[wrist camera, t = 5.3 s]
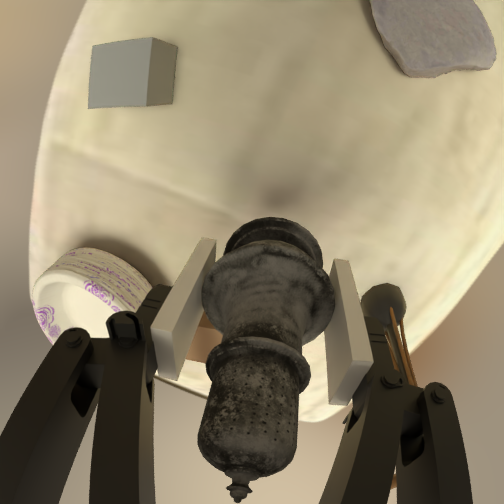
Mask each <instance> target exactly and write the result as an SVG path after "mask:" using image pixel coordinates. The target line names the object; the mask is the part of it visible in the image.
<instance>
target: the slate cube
mask: <svg viewBox="0 0 504 504" xmlns="http://www.w3.org/2000/svg"><path fill="white" fill-rule="evenodd" d="M177 49H178V47H176V46H174V45H171V44H169V43H166V42H164V41H161V40H158V39H156V38H153V37H151V38H141V39H132V40H125V41H118V42H111V43H105V44H99V45H94V46H93V47H92V56H91V66H90V79H89V96H88V109H94V108H110V107H140V106H155V105H166V104H172V100H173V88H174V77H175V67H176V57H177Z"/></svg>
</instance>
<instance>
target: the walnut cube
mask: <svg viewBox="0 0 504 504" xmlns="http://www.w3.org/2000/svg"><path fill="white" fill-rule="evenodd" d="M222 337H223V335H222V334H221V333H220V332H218V331H217V330H216V329H215V328H214V326H213V325H212V324H211V322H210V321H209V320H208V318H207V316H206V314H205V311H204V312H203V314H202V317H201V319H200V322H199V325H198V327H197V330H196V332H195V335H194V338H193V340H192V343H191V345H190V348H189V351H188V353H187V356H186V359H187V360H192V361H197V362H202V363H206V361H207V357H208V354H209V353H210V352H211V351H212V349H213V348H214V347H215V346H217V345H219V344H220V343H221V341H222Z"/></svg>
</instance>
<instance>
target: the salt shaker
mask: <svg viewBox="0 0 504 504" xmlns="http://www.w3.org/2000/svg"><path fill="white" fill-rule="evenodd" d="M322 268H323V259H322V251H321V249H320V247H319V244H318V242H317V240H316V239H315V238H314V237H313V235H312V234H311V233H310V232H309V231H308V230H307V229H305V228H304V227H302V226H301V225H299V224H298V223H296V222H293V221H290V220H287V219H284V218H275V217H267V218H260V219H255V220H253V221H251V222H248V223H246V224H244V225H243V226H241V227H240V228H239V229H238V230H236V231H235V232H234V233H233V235H232V236H231V238H230V239H229V241H228V242H227V244H226V248H225V251H224V254H223V257H222V258H220V259H219V260H218V261H216V262H215V263H214V264H213V265H212V267H211V268H210V270H209V271H208V273H207V274H206V276H205V278H204V282H203V286H202V291H201V294H202V306H203V309H204V311H205V314H206V316H207V318H208V320H209V321H210V322H211V324H212V325H213V326H214V328H215V329H216V330H217V331H218V332H220V333H221V334H222V335H223V337H222V341H221V343H220V344H219V345H217V346H215V347H214V348H213V349H212V351H211V352H210V353H209V354H208V357H207V361H206V372H207V374H208V376H209V378H210V380H211V381H212V385H211V388H210V392H209V396H208V399H207V403H206V406H205V410H204V414H203V417H202V421H201V425H200V428H199V432H198V447H199V449H200V452H201V453H202V455H203V457H204V458H205V459H206V460H207V461H208V462H209V463H210V464H211V465H213V466H214V467H215V468H217V469H218V470H220V471H223V472H224V473H225V475H226V476H228V477H230V478H232V484H231V485H230V486H227V488H226V489H227V490H229V491H230V496H231V497H233V498H234V501H235V502H236V503H240V502H241V499H244V498H246V497H247V493H251V492H252V490H251V489H250V488H249V486H248V484H249V482H250V481H253V480H257V479H258V478H259V477H267V476H270V475H273V474H275V473H277V472H279V471H282V470H283V469H284V468H285V467H287V465H288V464H289V463H290V462H291V461H292V460H293V457H294V454H295V451H296V448H297V431H298V407H299V394H300V393H301V392H303V391H304V390H305V388H306V387H307V386H308V384H309V381H310V378H311V372H310V366H309V364H308V362H307V361H306V359H305V358H304V356H302V346H303V345H305V344H307V343H308V342H310V341H312V340H314V339H315V338H316V337H317V336H319V335H320V334H321V333H322V332H323V331H324V330H325V329H326V327H327V326H328V324H329V322H330V321H331V319H332V316H333V312H334V309H335V305H336V304H335V291H334V287H333V285H332V283H331V281H330V278H329V276H328V274H327V273H326V272H325V271H324V270H323V269H322Z"/></svg>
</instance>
